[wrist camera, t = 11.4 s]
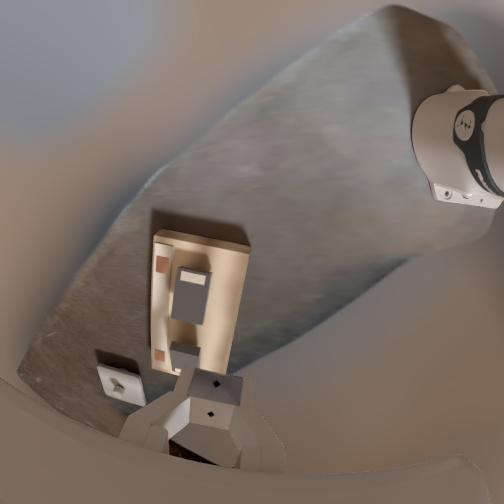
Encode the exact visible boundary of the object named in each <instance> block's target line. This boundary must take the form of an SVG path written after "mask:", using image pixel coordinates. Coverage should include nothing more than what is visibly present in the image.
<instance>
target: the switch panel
mask: <svg viewBox="0 0 504 504" xmlns="http://www.w3.org/2000/svg"><path fill="white" fill-rule="evenodd" d="M250 249H251V246H247V245H242V244H237V243H232V242H227V241H221V240H216V239H211V238H206V237H201V236H196V235H191V234H186V233H181V232H176V231H170V230H165V229H161V230H159V231H158V232H157V233H156V234H155V235H154V241H153V257H152V279H151V356H152V368H153V369H156V370H160V371H164V372H167V373H171V374H175V375H180V373H178V372H174V371H172V366H171V359H170V351H169V349H170V346H171V343H172V341H175V342H179V343H183V344H187V345H192V346H196V347H200V348H201V358H200V369H204V370H208V371H212V372H216V373H222V374H226V369H227V364H228V359H229V354H230V349H231V344H232V339H233V334H234V329H235V324H236V319H237V314H238V309H239V304H240V299H241V295H242V290H243V285H244V280H245V275H246V270H247V265H248V260H249V255H250ZM179 266H184V267H189V268H194V269H198V270H203V271H208V272H213V273H212V278H211V284H210V290H209V296H208V302H207V307H206V314H205V320H204V323H203V325H198V324H193V323H189V322H185V321H180V320H176V319H172V318H171V310H172V303H173V295H174V288H175V281H176V275H177V268H178V267H179Z"/></svg>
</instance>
